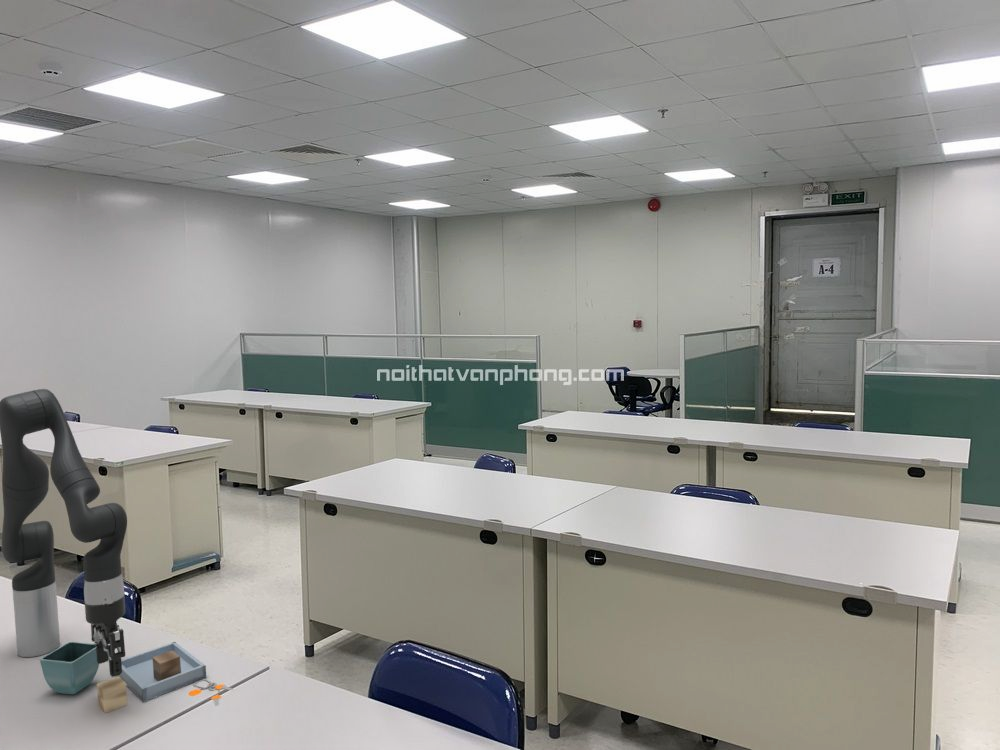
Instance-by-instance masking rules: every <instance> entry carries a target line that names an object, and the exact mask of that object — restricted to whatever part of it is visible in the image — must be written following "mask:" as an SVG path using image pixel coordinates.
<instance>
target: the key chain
mask: <svg viewBox="0 0 1000 750" xmlns="http://www.w3.org/2000/svg"><path fill="white" fill-rule="evenodd" d="M203 681H205V682H207V683H209V684H207V686H199V685H197V684H199V683H201V682H203ZM192 684H193V685H192V686H193V687H194V688H199V689H193V690H191V691H189V692H188V696H198V695H200V694H201V693H202V690H205V689H206V690H208V691H210V692H213V691H218V693H217V694H216V695H213V696H212V697H211V700H212V701H213V704H214V706H215V707H218V706H219V700H220V699H222V695H221V694H220V692H221V691H220V690H228V691H233V690H234V688H232V687H230V686H229V687H228V686H227V685H225V684H223V683H222V684H217V683H216V682H212V681H211V680H208V679H206V678H204V679H201V680H199V681H196V682H194V683H192Z"/></svg>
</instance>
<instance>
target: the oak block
mask: <svg viewBox="0 0 1000 750" xmlns="http://www.w3.org/2000/svg"><path fill="white" fill-rule="evenodd" d="M96 693H97V705H98V707H99V708H100V709H101V710H102V711H103V713H104V714H107V713H109V712H111V711H114V709H115V710H117V709H119V707H120V708H122V707H124V706H123V705H125V706H127V705H128V693H127V685H126V682H124V681H123V680H122V679H121V678H120V677H119V676H114V677H111V678H109V679H106V680H104V681H101V682H98V683H96ZM126 704H127V705H126ZM121 706H122V707H121Z"/></svg>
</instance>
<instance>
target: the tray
mask: <svg viewBox="0 0 1000 750" xmlns="http://www.w3.org/2000/svg"><path fill="white" fill-rule="evenodd" d="M169 651H174V652H175V653H176V654H178V655H179V656H180V664H181V673H180V674H177V675H174V676H172V677H169V678H166V679H164V680H161V681H157V680H156V679H154V673H153V657H155V656H158V655H161V654H163V653H166V652H169ZM121 663H122V673H121V674H120V675H118V676H119V677H120V678H121V679H122V680H123V681H124V682H126V684H127V685H128V686H129V687H130V688H131V689H132V690H133V691H134V692H135V693H136V694H137V695H138V696H137V695H136V694H135V693H134V692H133V691H132V690H131V689H130V688H129V687H128V686H127V685H126V686H127V687H128V688H129V689H130V690H131V691H132V692H133V693H134V694H135V695H136V696H137V697H138V698H139V699H140V700H141V702H143V703H145V702H147V701H150V700H153V699H155V698H157V697H156V696H158V697H160V696H163V695H165V693H166V694H168V693H170V692H173V691H176V690H178V689H181V688H183V687H185V686H188V685H191V684H195V683H196V682H198V681H200V680H203V679H206V678H207V668H206V667H207V666H206V664H205V663H204V662H202V661H200V659H198V658H197V657H195V656H194V655H193V654H192V653H190V652H189V651H187V649H185V648H183V647H182V645H180V644H179V643H177V642H176V641H173V642H170V643H167V644H163V645H160V646H158V647H156V648H151V649H150V650H147V651H144V652H140V653H138V654H134V655H131V656H130V657H129V656H128V657H126V658H123V659H121ZM118 676H117V677H118ZM162 694H163V695H162ZM154 697H155V698H154ZM152 698H153V699H152ZM149 699H150V700H149ZM144 701H145V702H144Z"/></svg>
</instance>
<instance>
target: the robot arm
mask: <svg viewBox="0 0 1000 750" xmlns="http://www.w3.org/2000/svg"><path fill="white" fill-rule="evenodd" d="M69 424H70V423H69V422H68V420H67V418H66V415H65V413H64V410H63V407H62V406H61V403H60V401H59V400H58V398H57V397H56V395H55V394H54V393H53V392H52V391H51V390H49V389H46V388H40V389H34V390H29V391H25V392H20V393H17V394H13V395H8V396H5V397H3V398H1V400H0V440H1V441H0V442H1V447H2V451H1V452H2V471H1V472H2V475H1V482H2V483H1V485H2V486H1V487H2V502H3V503H2V504H3V520H2V521H3V522H2V532H1V553H2V555H3V558H4V560H5V561H6V562H8V563H19V562H25V561H31V560H36V559H37V561H35V563H33V564H32V565H31V566H29V567H26V569H24V570H22V571H20V572H18V573H16V574H15V575H14V576H13V577H12V580H11V587H12V601H13V612H14V613H13V614H14V623H15V625H14V626H15V636H16V637H15V638H16V639H15V640H16V650H17V651H16V652H17V656H19V657H21V658H32V657H38V656H43V655H45V654H46V655H47V654H49V653H51V652H53V651H54V650H56V649H58V648H59V647H60V645H61V638H60V622H59V621H60V620H59V607H58V597H57V596H58V595H57V594H58V593H57V583H56V572H55V552H54V551H55V549H54V548H55V546H54V545H55V537H54V536H55V535H54V530H53V525H52V524H51V523H50V521H48V520H41V521H34V522H29V523H27V522H26V523H24V522H25V521H26V519H27V518H28V517H29V516H30V515H31V514H32V513H33V512H34V511H35V510H36V509H37V508H38V507H39V506H40V505H41V504H42V502H43V501H44V500H45V498H46V496H47V494H48V492H49V489H50V488H49V486H50V485H49V484H50V483H49V482H50V480H49V479H50V477H51V480H52V483H53V484H54V486H55V488H56V490H57V491H58V493H59V494H60V497H62V499H63V501H64V504H65V508H66V513H67V517H68V522H69V528H70V531H71V535H72V536H73V537H74V538H75V539H76V540H77V541H79V542H81V543H84V544H85V543H87V544H89V543H92V542H96V541H99V542H98V545H97V546H95V547H94V548H92V549H90V550H89V551H87V552H86V553H85V554H84V556H83V559H82V560H83V561H82V562H83V563H82V564H83V566H82V567H83V577H84V584H83V597H84V610H85V611H84V612H85V621H86V622H87V623H88V624H90V630H91V631H90V632H91V642H93V644H94V646H95V647H96V653H97V662H98V663H99V665H101V664H104V663H106V662H108V666H109V676H110V677H111V678H115V677H118V676H117V675H120V674H121V673H122V663H121V660H122V658H125V657H126V648H125V647H126V646H125V636H124V630H123V628H120V625H119V624H118V622H117V621H118V620H119V619H121V618H123V617H124V616H125V614H126V602H125V585H124V584H125V583H124V580H123V579H124V578H123V574H122V563H121V562H122V561H121V560H122V559H121V554H122V550H123V547H124V541H125V536H126V533H127V527H128V516H127V512H126V511H125V509H124V507H123V506H122V505H121V504H119V503H116V502H110V503H109V502H108V503H104V504H101V505H97V506H92V507H89V506H88V504H90V503H91V502H93V501H95V500H97V498H98V497H99V495H100V493H101V488H100V485H99V484H98V482H97V480H96V479H95V477H94V475H93V474H92V472H91V471H90V469H89V467H88V465H87V464H86V463H85V461H84V458H83V456H82V454H81V452H80V450H79V448H78V445H77V442H76V440H75V437H74V435H73V432H72V429H71V427H70V425H69ZM48 429H49V430H50V431H51V434H52V435H53V439H54V446H53V452H52V457H51V462H50V468H49V466H48V465H47V463H46V462H45V461H44V460H43V459H42V458H41V457H40V456H38V454H36V453H35V452H33V451H32V450H31V449H29V448H28V446H27V445H26V444H24V437H25V436H26V435H30V434H32V433H36V432H41V431H44V430H48ZM49 469H50V471H49ZM49 476H50V477H49ZM115 650H116V651H115Z"/></svg>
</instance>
